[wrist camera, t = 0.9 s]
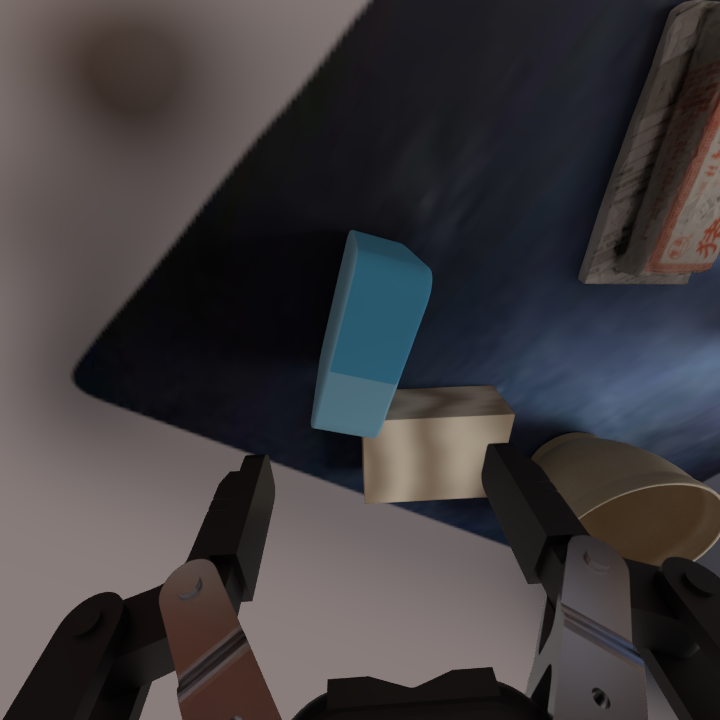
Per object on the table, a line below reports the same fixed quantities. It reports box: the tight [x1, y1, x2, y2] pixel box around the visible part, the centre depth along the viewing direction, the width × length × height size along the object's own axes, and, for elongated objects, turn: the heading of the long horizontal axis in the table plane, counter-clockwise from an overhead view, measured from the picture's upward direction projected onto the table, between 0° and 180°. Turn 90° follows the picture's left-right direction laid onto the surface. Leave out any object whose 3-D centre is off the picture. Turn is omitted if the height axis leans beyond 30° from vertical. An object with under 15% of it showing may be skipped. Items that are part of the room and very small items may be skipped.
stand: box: [362, 385, 515, 504], centre depth 34 cm, size 14×11×5 cm
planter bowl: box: [531, 432, 720, 567], centre depth 35 cm, size 16×16×11 cm
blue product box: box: [311, 230, 432, 438], centre depth 24 cm, size 12×4×12 cm, turn 166°
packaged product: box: [578, 0, 720, 285], centre depth 24 cm, size 18×5×10 cm
